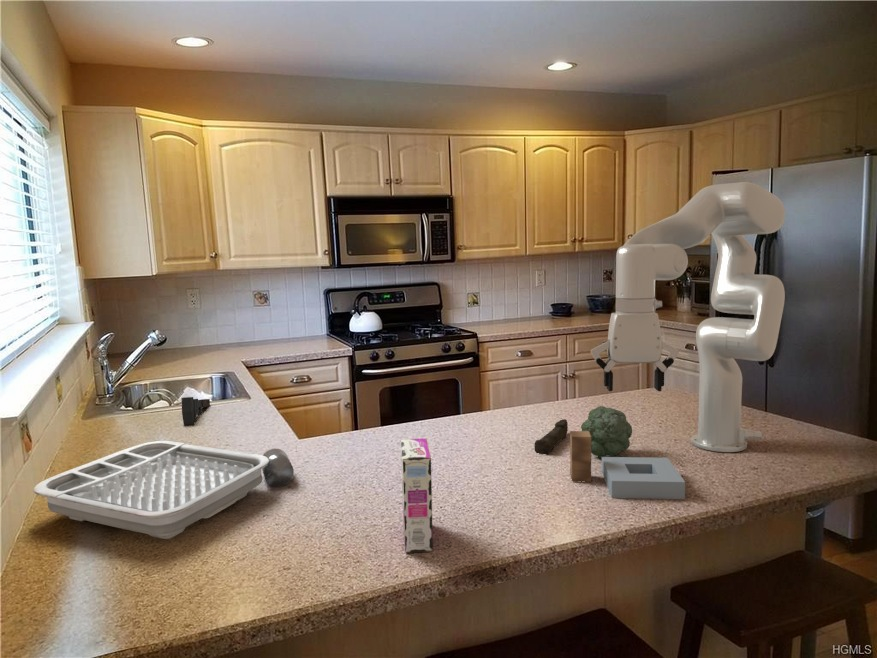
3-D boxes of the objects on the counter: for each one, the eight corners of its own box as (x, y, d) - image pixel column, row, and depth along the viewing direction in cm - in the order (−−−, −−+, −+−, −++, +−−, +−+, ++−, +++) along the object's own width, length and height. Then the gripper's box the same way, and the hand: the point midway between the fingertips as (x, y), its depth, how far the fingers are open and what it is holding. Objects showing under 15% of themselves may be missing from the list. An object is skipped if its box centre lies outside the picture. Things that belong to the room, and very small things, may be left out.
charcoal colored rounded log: (549, 457, 147) (549, 438, 146) (533, 454, 149) (533, 436, 148) (576, 435, 163) (576, 418, 162) (562, 433, 165) (562, 417, 164)
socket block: (667, 473, 134) (667, 457, 133) (684, 499, 120) (685, 482, 119) (601, 472, 135) (601, 456, 135) (611, 497, 122) (611, 480, 121)
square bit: (588, 475, 134) (588, 431, 132) (591, 482, 130) (591, 436, 129) (570, 475, 134) (570, 431, 133) (571, 482, 130) (571, 436, 129)
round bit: (290, 470, 141) (296, 482, 134) (263, 478, 139) (267, 490, 132) (285, 445, 140) (290, 455, 133) (257, 452, 138) (261, 463, 131)
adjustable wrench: (211, 420, 206) (191, 425, 182) (203, 420, 206) (182, 426, 181) (210, 395, 207) (191, 397, 182) (202, 395, 207) (181, 397, 182)
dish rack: (165, 559, 103) (161, 514, 102) (23, 526, 117) (18, 486, 116) (283, 490, 132) (280, 454, 130) (157, 470, 146) (154, 438, 145)
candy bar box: (435, 552, 102) (431, 457, 100) (405, 554, 102) (401, 459, 100) (430, 522, 113) (427, 436, 111) (403, 524, 113) (399, 438, 111)
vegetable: (615, 431, 157) (650, 419, 144) (597, 474, 152) (631, 466, 138) (576, 405, 157) (607, 391, 143) (557, 448, 151) (587, 437, 138)
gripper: (674, 304, 126) (672, 385, 128) (588, 305, 128) (588, 385, 130) (684, 307, 119) (682, 394, 121) (594, 309, 120) (593, 394, 123)
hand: (633, 389), depth 125 cm, fingers open, 9 cm apart
